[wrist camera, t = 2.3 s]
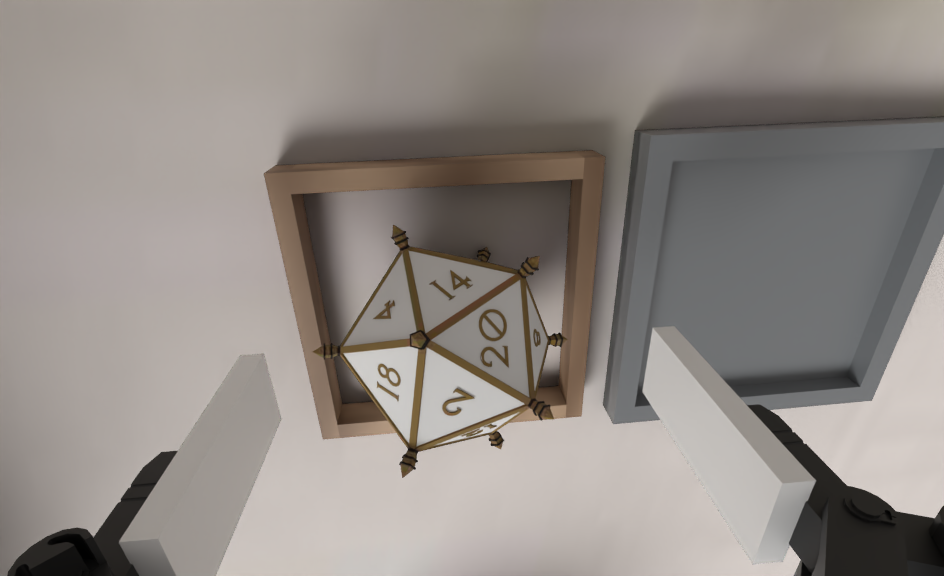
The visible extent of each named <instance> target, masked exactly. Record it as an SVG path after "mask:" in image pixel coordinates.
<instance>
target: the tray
mask: <svg viewBox="0 0 944 576" xmlns="http://www.w3.org/2000/svg"><path fill="white" fill-rule="evenodd" d="M943 234H944V117H924V118H901V119H879V120H857V121H835V122H812V123H790V124H768V125H746V126H723V127H701V128H679V129H657V130H635V134H634V143H633V152H632V160H631V169H630V177H629V186H628V195H627V203H626V212H625V220H624V229H623V237H622V246H621V255H620V263H619V272H618V280H617V289H616V298H615V306H614V315H613V323H612V332H611V340H610V349H609V358H608V366H607V375H606V383H605V392H604V401H603V406H604V408H605V409H606V411H607V413H608V415H609V417H610V419H611V421H612V423H613V424H620V423H631V422H642V421H653V420H660V419H659V417H658V415H657V414H656V412H655V411H654V409H653V408H652V406H651V404H650V403H649V401H648V400H647V398H646V397H645V395H644V394H643V392H642V390H643V384H644V378H645V372H646V366H647V360H648V353H649V347H650V341H651V335H652V329H653V328H654V327H669V326H675V328H676V329H677V330H678V331H679V332H680V333H681V334H682V335H683V336H684V337H685V338H686V339H687V341H688V342H689V343H690V344H691V345H692V346H693V347H694V348H695V349H696V350H697V351H698V353H699V354H700V355H701V356H702V357H703V358H704V359H705V360H706V361H707V362H708V363H709V365H710V366H711V367H712V368H713V369H714V370H715V371H716V372H717V373H718V374H719V375H720V377H721V378H722V379H723V380H724V381H725V382H726V383H727V384H728V385H729V386H730V387H731V389H732V390H733V391H734V392H735V393H736V394H737V395H738V396H739V397H740V398H741V399H742V401H743V402H744V403H745V404H746V405H757V404H760V405H762V406H763V407H765V408H767V409H768V410H774V409H785V408H796V407H807V406H818V405H829V404H840V403H851V402H862V401H872V399H873V397H874V394H875V392H876V390H877V388H878V385H879V383H880V381H881V378H882V376H883V374H884V371H885V369H886V367H887V364H888V362H889V360H890V357H891V355H892V353H893V350H894V348H895V346H896V343H897V341H898V339H899V336H900V334H901V332H902V330H903V327H904V325H905V323H906V320H907V318H908V316H909V313H910V311H911V309H912V306H913V304H914V302H915V299H916V297H917V295H918V292H919V290H920V288H921V285H922V283H923V281H924V278H925V276H926V274H927V272H928V269H929V267H930V265H931V262H932V260H933V258H934V255H935V253H936V251H937V248H938V246H939V244H940V241H941V239H942V237H943Z"/></svg>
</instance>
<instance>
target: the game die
mask: <svg viewBox="0 0 944 576" xmlns="http://www.w3.org/2000/svg"><path fill="white" fill-rule="evenodd" d="M405 233H406V231H402V230H401V229H399V228H398V227H396V226H395V225H393V235H392V237H391V238H392V239H394V241H395V245H398V247H399V248H400V252H399V253H398V255H397V256H396V258H395V260H394V261H393V263H392V264H391V266H390V267H389V269H388V271H387V272H386V274H385V275H384V277H383V279H382V280H381V282H380V283H379V285H378V286H377V288H376V290H375V291H374V293H373V294H372V296H371V297H370V299H369V301H368V302H367V304H366V305H365V307H364V309H363V310H362V312H361V313H360V315H359V316H358V318H357V320H356V321H355V323H354V324H353V326H352V327H351V329H350V331H349V332H348V334H347V335H346V337H345V339H344V340H343V342H342V343H341V345H340V346H335V345H332V343H330V345H325V343H324V345H322V346H321V347H319V348H318V349H316V350H314V351H313V353H315V354H317V355H319V356H321V357H322V358H324V360H325V358H331V359H332V357H335V356H337V355H338V356H341V358H342V359H343V360H344V362H345V363H346V365H347V366H348V367H349V369H350V370H351V371H352V373H353V374H354V375H355V377H356V378H357V380H358V381H359V382H360V384H361V385H362V386H363V388H364V389H365V391H366V392H367V393H368V395H369V396H370V397H371V399H372V400H373V401H374V403H375V404H376V406H377V407H378V408H379V410H380V411H381V412H382V414H383V415H384V416H385V418H386V419H387V421H388V422H389V423H390V425H391V426H392V427H393V429H394V430H395V431H396V433H397V434H398V436H399V437H400V438H401V440H402V441H403V442H404V444H405V445H406V447H407V448H408V451H407V453H406V454H404V455H403V457H402V458H403V460H402V461H401V462H400V464H399V465H401V472H402V478H403V477H404V476H406V475H407V474H408V473H409V472H411V471H412V470H413V469H414V470H415V469H416V468H415V463H416V462H418V460H416V459H417V453H418V452H419V451H423V450H427V449H431V448H436V447H440V446H444V445H448V444H452V443H456V442H460V441H464V440H468V439H473V438H477V437H481V436H485V435H489V436H490V438H489V441H491V446H495V447H497V448H499V449H501V447H502V443H503V441H504V440H503V438H502V437H501V434H500V433H499V432H497V430H498V429H500V428H501V427H503V426H504V425H506V424H507V423H509V422H510V421H512V420H513V419H515V418H516V417H517V416H519V415H520V414H522V413H523V412H525V411H526V410H528V409H529V408H530V409H532V410H533V413H534V415H535V416H538V417H539V419H540V420H541V421H542V420H543V419H554V417H553V414H552V412H551V409H550V406H551V405H546V404H545V402H544V401H537V400H536V395H537V391H538V387H539V382H540V378H541V374H542V370H543V366H544V362H545V358H546V354H547V350H548V345H550V344H551V345H553V346H555V347H556V346H560V347H562V344H563V343H565V342H566V341H567V340H568V339H567V338H565V337H564V336H562V335H561V333H558V334H555V333H554V334H553V335H551V336H548V335H547V332H546V330H545V327H544V324H543V322H542V319H541V317H540V314H539V312H538V309H537V306H536V304H535V301H534V299H533V296H532V294H531V291H530V288H529V286H528V283H527V281H526V277H527V276H528V275H530V274H531V275H533V274H534V273H533V272H534V271H535V270H539V269H538V264H539V258H540V256H537V257H532V258H528V257H527V259H526V261H525V263H524V262H523V263H522V265H521V269H520V270H515V269H511V268H507V267H504V266H500V265H496V264H492V263H488V262H487V261H488V259H489V256H490V255H491V253H489V251H488V248H487V247H486V248H484V249H483V250H479V251H478V253H479V254H478V255H477V258H478V260H475V259H470V258H465V257H460V256H455V255H450V254H445V253H440V252H435V251H430V250H425V249H420V248H415V247H410V246H409V245H408V240H407V239H409V238H408V237H406V234H405Z"/></svg>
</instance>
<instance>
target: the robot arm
mask: <svg viewBox="0 0 944 576" xmlns="http://www.w3.org/2000/svg"><path fill="white" fill-rule="evenodd" d="M642 392H643V394H644V395H645V397H646V398H647V400H648V401H649V403H650V404H651V406H652V408H653V409H654V411H655V412H656V414H657V415H658V417H659V419H660V420H661V422H662V423H663V425H664V426H665V428H666V429H667V431H668V433H669V434H670V436H671V437H672V439H673V440H674V442H675V444H676V445H677V447H678V448H679V450H680V451H681V453H682V455H683V456H684V458H685V459H686V461H687V462H688V464H689V465H690V467H691V469H692V470H693V472H694V473H695V475H696V476H697V478H698V480H699V481H700V483H701V484H702V486H703V487H704V489H705V491H706V492H707V494H708V495H709V497H710V498H711V500H712V501H713V503H714V505H715V506H716V508H717V509H718V511H719V512H720V514H721V516H722V517H723V519H724V520H725V522H726V523H727V525H728V527H729V528H730V530H731V531H732V533H733V534H734V536H735V537H736V539H737V541H738V542H739V544H740V545H741V547H742V548H743V550H744V552H745V553H746V555H747V556H748V558H749V559H750V561H751V563H752V564H763V563H773V562H783V560H784V558H785V555H786V553H787V550H788V548H789V545H790V546H791V547H792V548H793V550H794V551H795V552H796V554H797V555H798V556H799V558H800V559H801V561H800V563H799V565H798V568H797V570H796V572H795V575H794V576H944V506H943V507H942V508H941V510H940V511H939V513H938V515H937V516H936V518H929V517H924V516H918V515H913V514H907V513H901V512H896V511H895V510H894V509H893V508H892V507H891V506H890V505H889V504H888V503H886V502H885V501H883V500H882V499H881V498H879V497H878V496H876V495H874V494H871V493H869V492H867V491H865V490H862V489H859V488H855V487H851V486H847V485H846V484H845V483H844V482H843V481H842V480H841V479H840V478H839V477H838V476H837V475H836V474H835V473H834V472H833V471H832V470H831V469H830V468H829V467H828V466H827V465H826V464H825V463H824V462H823V461H822V460H821V459H820V458H819V457H818V456H817V455H816V454H815V453H814V452H813V451H812V450H811V449H810V448H809V447H808V446H807V444H804V443H803V440H802V439H801V438H800V437H799V436H798V435H797V434H796V433H795V432H794V433H793V432H792V429H791V428H790V427H789V426H788V425H787V424H786V423H785V422H784V421H783V420H782V419H781V418H780V417H779V416H778V415H776V414H775V413H773V412H771V411H770V410H768V409H767V408H765V407H763V406H762V405H760V404H757V405H746V404H745V403H744V402H743V401H742V399H741V398H740V397H739V396H738V395H737V394H736V393H735V392H734V391H733V390H732V389H731V387H730V386H729V385H728V384H727V383H726V382H725V381H724V380H723V379H722V378H721V377H720V375H719V374H718V373H717V372H716V371H715V370H714V369H713V368H712V367H711V366H710V365H709V363H708V362H707V361H706V360H705V359H704V358H703V357H702V356H701V355H700V354H699V353H698V351H697V350H696V349H695V348H694V347H693V346H692V345H691V344H690V343H689V342H688V341H687V339H686V338H685V337H684V336H683V335H682V334H681V333H680V332H679V331H678V330H677V329H676V328H675V326H669V327H654V328H653V329H652V335H651V341H650V347H649V353H648V360H647V366H646V372H645V378H644V384H643V390H642ZM280 421H281V415H280V412H279V408H278V404H277V400H276V397H275V393H274V389H273V386H272V382H271V378H270V374H269V371H268V367H267V363H266V360H265V356H264V354H254V355H240V356H239V358H238V359H237V361H236V362H235V364H234V366H233V367H232V369H231V370H230V372H229V373H228V375H227V376H226V378H225V379H224V381H223V382H222V384H221V386H220V387H219V389H218V390H217V392H216V393H215V395H214V396H213V398H212V399H211V401H210V402H209V404H208V406H207V407H206V409H205V410H204V412H203V413H202V415H201V416H200V418H199V419H198V421H197V422H196V424H195V426H194V427H193V429H192V430H191V432H190V433H189V435H188V436H187V438H186V439H185V441H184V442H183V444H182V445H181V447H180V449H179V450H178V451H170V452H161V453H160V454H159V455H158V456H156V457H155V458H154V459H153V460H152V461H150V462H149V463H148V464H147V465H146V466H144V467H143V468H142V470H141V471H140V473H139V474H138V476H137V477H136V478H135V480H134V481H133V483H132V484H131V488H128V490H127V491H126V492H125V494H124V495H123V497H122V498H121V502H120V503H118V504H117V505H116V507H115V508H114V509H113V511H112V512H111V514H110V515H109V516H108V518H107V519H106V521H105V522H104V523H103V525H102V526H101V528H100V529H99V530H98V532H97V533H96V535H95V536H94V538H93V537H92V535H91V534H90V533H89V532H88V530H86V529H81V528H72V529H66V530H62V531H59V532H57V533H54V534H52V535H50V536H47V537H45V538H44V539H42V540H41V541H39V542H37V543H36V544H34V545H33V546H31V547H30V548H29V549H28V550H27V551H26V552H24V553H23V554H22V555H21V556H20V557H19V558H18V559H17V560H16V562H15V563H14V564H13V566H12V567H11V569H10V570H9V571H8V575H7V576H216V574H217V571H218V569H219V566H220V564H221V562H222V559H223V557H224V555H225V552H226V550H227V547H228V545H229V543H230V540H231V538H232V535H233V533H234V531H235V528H236V526H237V524H238V521H239V519H240V516H241V514H242V512H243V509H244V507H245V504H246V502H247V500H248V497H249V495H250V493H251V490H252V488H253V485H254V483H255V481H256V478H257V476H258V473H259V471H260V469H261V466H262V464H263V462H264V459H265V457H266V454H267V452H268V450H269V447H270V445H271V443H272V440H273V438H274V435H275V433H276V431H277V428H278V426H279V423H280Z"/></svg>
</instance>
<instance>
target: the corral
mask: <svg viewBox="0 0 944 576" xmlns="http://www.w3.org/2000/svg"><path fill="white" fill-rule="evenodd" d="M604 166H605V156H603V155H601V154H599V153H597V152H595V151H593V150H587V151H566V152H545V153H525V154H504V155H483V156H462V157H441V158H420V159H399V160H378V161H357V162H336V163H315V164H294V165H275V166H274V167H273V168H271V169H270V170H268V171H267V172H265V173H264V177H265V181H266V186H267V190H268V195H269V199H270V204H271V208H272V213H273V217H274V222H275V226H276V231H277V235H278V240H279V244H280V249H281V253H282V258H283V262H284V267H285V271H286V276H287V280H288V285H289V289H290V294H291V298H292V303H293V307H294V312H295V316H296V321H297V325H298V330H299V334H300V339H301V343H302V348H303V352H304V357H305V361H306V366H307V370H308V374H309V379H310V383H311V388H312V392H313V397H314V401H315V406H316V410H317V415H318V419H319V424H320V428H321V433H322V437H323V439H333V438H344V437H356V436H367V435H378V434H389V433H396V431H395V430H394V429H393V427H392V426H391V425H390V423H389V422H388V421H387V419H386V418H385V416H384V415H383V414H382V412H381V411H380V410H379V408H378V407H377V406H376V404H375V403H374V402H362V403H350V404H342V400H341V395H340V389H339V384H338V379H337V374H336V368H335V363H334V358H333V357H332V359H331V358H325V360H324V358H322V357H321V356H319V355H317V354H315V353H313V351H314V350H316V349H318V348H319V347H321V346H322V345H324V343H325V345H330V343H331V342H330V337H329V332H328V326H327V321H326V316H325V311H324V305H323V300H322V295H321V290H320V284H319V279H318V274H317V269H316V263H315V258H314V253H313V248H312V242H311V237H310V232H309V227H308V221H307V216H306V211H305V206H304V200H303V195H302V194H307V193H326V192H345V191H364V190H383V189H402V188H421V187H441V186H460V185H479V184H498V183H517V182H536V181H555V180H571V194H570V210H569V226H568V242H567V258H566V274H565V290H564V306H563V322H562V336H564V337H565V338H567V339H568V340H567V341H566V342H565V343H563V344H562V347H561V354H560V370H559V386H551V387H539V388H538V391H537V395H536V400H537V401H544V402H545V404H546V405H551V406H550V409H551V412H552V414H553V417H554V419H557V418H568V417H579V416H581V415H582V404H583V393H584V382H585V372H586V361H587V350H588V339H589V328H590V317H591V307H592V296H593V285H594V274H595V263H596V252H597V242H598V231H599V220H600V209H601V198H602V187H603V176H604ZM534 420H540V419H539V417H538V416H535V415H534V413H533V410H532V409H530V408H529V409H528V410H526V411H525V412H523V413H522V414H520V415H519V416H517V417H516V418H515V419H513V420H512V421H510V422H509V423H512V422H523V421H534ZM543 420H546V419H543Z"/></svg>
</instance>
